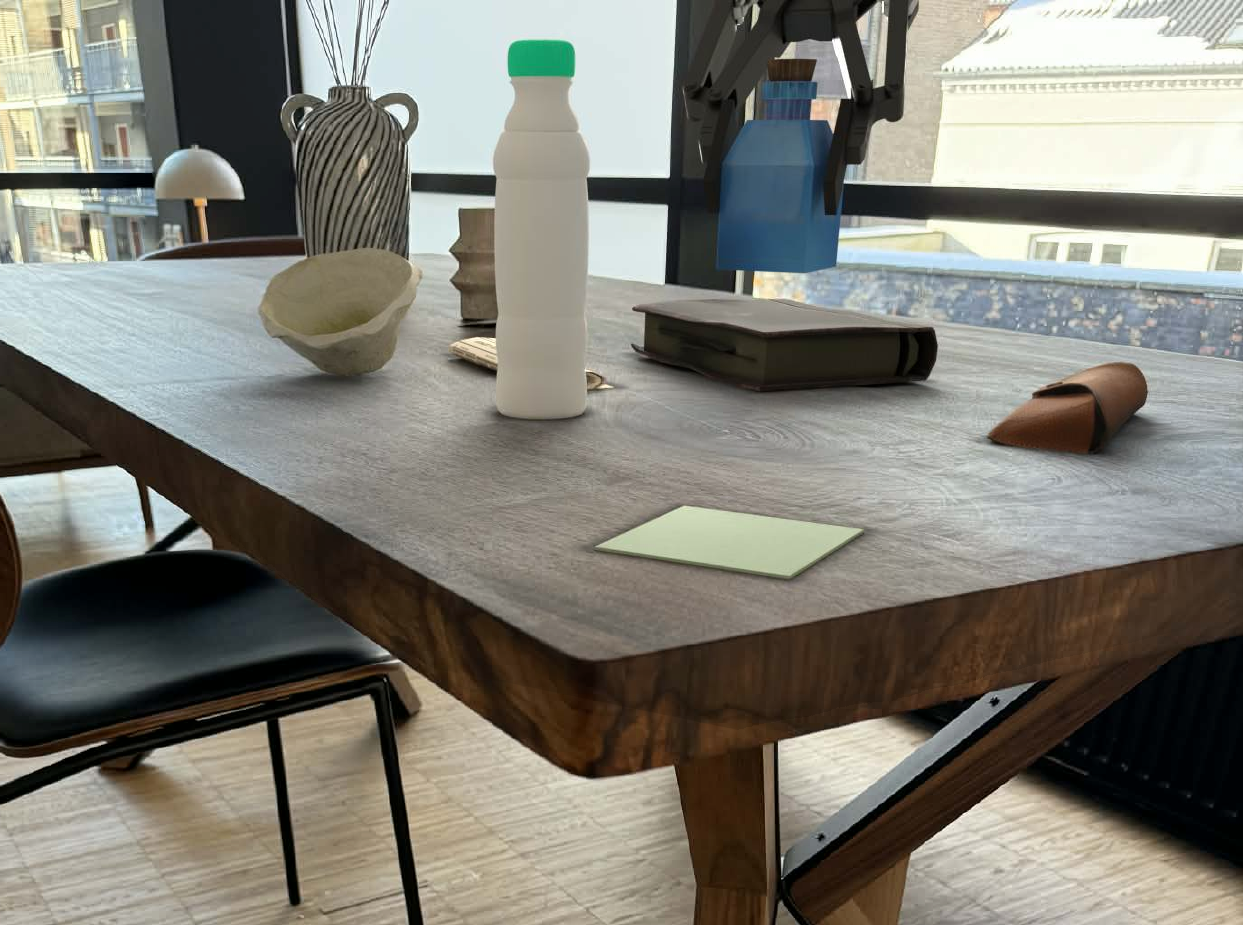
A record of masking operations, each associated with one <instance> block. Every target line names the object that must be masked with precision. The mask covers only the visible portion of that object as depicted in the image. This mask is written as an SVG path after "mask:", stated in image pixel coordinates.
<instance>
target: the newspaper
mask: <svg viewBox="0 0 1243 925" xmlns="http://www.w3.org/2000/svg"><path fill="white" fill-rule="evenodd" d="M448 352H449V353H451V355H453V356H455V357H457V358H460V359H462V360H465V361H468V362H470V363H473V364H475V365H478V366H480V367H483V368H485V369H487V370H491V371H493V372H496V373H497V370H498V358H497V351H496V337H495V338H493V337H480V336H475V337H471V338H465V339H461V340H458V341H456V342H453V343H451V344H449V346H448ZM585 371H586V383H587V390H594V389H599V390H603V389H615V388H616V387H614V386H611V385H609V384H606V379H607V377H606V376H603V375H601V374H599V373H596V372H594V371H592V370H589V369H586V368H585Z"/></svg>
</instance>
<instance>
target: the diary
mask: <svg viewBox="0 0 1243 925" xmlns="http://www.w3.org/2000/svg"><path fill="white" fill-rule="evenodd" d="M631 310H632V311H633V312H636V313H642V314H644V331H643V332H644V333H643V334H644V336H643V346H640V345H637V344H635V343H633V342H631V343H630V346H631V348H632V349H633V351H634V352H635V353H637V354H639V355H642V356H645V357H648V358H650V359H652V360H655V361H657V362H659V363H664V364H667V365H672V366H673V365H674V366H678V367H683V368H686V369H691V370H694V371H695V372H697V373H699V374H701V375H703V376H704V377H707V378H710V379H713V380H716V381H719V382H722V383H726V384H729V385H732V386H736V387H740V388H743V389H747V390H753V391H756V392H771V391H772V392H773V391H786V390H787V391H788V390H801V389H802V390H803V389H805V390H806V389H816V388H817V389H818V388H819V389H821V388H834V387H835V388H837V387H848V386H863V385H864V386H867V385H880V384H896V383H906V382H908V383H911V382H923V381H924V382H926V381H927V380H928V379H929V377H930V376H931V373H932V371H933V369H934V367H935V365H936V362H937V357H938V349H939V344H938V339H937V334H936V333H937V332H936V330H935V328H934V327H933V326H930V325H923V324H916V323H908V322H901V321H895V320H887V319H883V318H880V317H875V316H872V315H867V314H863V313H859V312H855V311H852V310H844V309H838V308H837V309H836V308H829V307H821V306H820V307H819V306H815V305H811V304H807V303H803V302H800V301H796V300H793V299H788V298H769V299H766V298H765V299H763V298H762V299H727V298H726V299H724V298H723V299H721V298H707V299H705V298H703V299H702V298H701V299H682V300H681V299H680V300H677V299H676V300H670V301H669V300H668V301H660V302H659V301H658V302H651V303H641V304H638V305H635V306H632V308H631Z"/></svg>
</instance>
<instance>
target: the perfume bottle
mask: <svg viewBox="0 0 1243 925" xmlns="http://www.w3.org/2000/svg"><path fill="white" fill-rule="evenodd" d="M817 63H818V60H817V59H816V58H775V59H769V60H767V68H768V69H767V77H768V81H764V82H762V90H761V100H765V111H764V112H765V114H764V119H746V121H745V123H744V124H743V126H742V128H741V129H740V131H739V132H738V136H737V138H736V140H735V142H734V144H733V145H732V147H731V149H730V151H729V152H728V154H727V156H726V158H725V159H724V161H723V163H722V175H721V194H720V212H719V213H718V230H717V249H716V250H717V252H716V267H715V268H716V270H717V271H718V270H722V271H740V272H741V271H743V272H765V273H789V274H809V273H813V272H818V271H822V270H823V271H824V270H828V269H831V268H832V269H833V268H836V267H837V262H838V251H839V240H840V239H839V238H840V228H841V220H842V218H841V216H842V206H843V196H844V195H843V194H844V185H845V182H844V183H843V187H842V192H841V197H840V201H839V206H838V211H837V215H825V210H824V192H823V180H824V175H825V171H826V166H827V161H828V157H829V152H830V147H831V143H832V138H833V133H834V131H833V130H832V128H831V125H830V123H829V121H828V120H827V119H811V115H812V100H817V94H818V81H813V77H814V73H815V70H816V66H817Z"/></svg>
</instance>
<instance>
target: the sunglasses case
mask: <svg viewBox="0 0 1243 925" xmlns="http://www.w3.org/2000/svg"><path fill="white" fill-rule="evenodd" d="M1148 394H1149V391H1148V384H1147V380H1146V377H1145V375H1144V374H1143V372H1142V370H1141V369H1140V368H1139V367H1138V366H1137V365H1136V364H1134V363H1131V362H1124V361H1118V362H1117V361H1116V362H1109V363H1108V362H1107V363H1102V364H1099V365H1094V366H1092V367H1088V368H1085V369H1082V370H1080V371H1077V372H1075V373H1073V374H1071V375H1068V376H1066V377H1064V378H1061V379H1058V380H1056V381H1054V382H1053V381H1052V382H1050V383H1047V384H1046V385H1044V386H1042V387H1040V388H1038V389H1037V390H1035V391H1033V392H1032V394H1031V399H1030V400H1028V401H1026V402H1025V403H1023V404H1021V405H1020V406H1018V407H1016V409H1014V410H1013V411H1012V412H1011V413H1009V414H1008V415H1007V416H1005V418H1003V419H1002V420H1000V422H998V423H997V424H996V425H995V426H994V427H992V429H990V432H988V435H987V436H986V437H987V438H986V439H987V440H990V441H992V442H994V443H996V444H1000V445H1005V446H1009V447H1019V448H1028V449H1029V448H1030V449H1039V450H1051V451H1061V452H1070V453H1079V454H1088V455H1092V454H1095V453H1096V452H1098V451H1099V450H1100V449H1101V448H1102V447H1103V446H1106V445H1107V444H1109V442H1110V441H1111V440H1112V439H1113V437H1114V435H1115V434H1116V433H1117V432H1118V431H1119V430H1120V429H1121V427H1123V425H1124V424H1125V423H1126V422H1127V421H1129V419H1131V417H1132V416H1133V415H1135V414H1136V413H1137V412H1138V411H1139V410H1141V409H1142V408H1143V407H1144V406H1145V405H1146V402H1147V399H1148Z"/></svg>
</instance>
